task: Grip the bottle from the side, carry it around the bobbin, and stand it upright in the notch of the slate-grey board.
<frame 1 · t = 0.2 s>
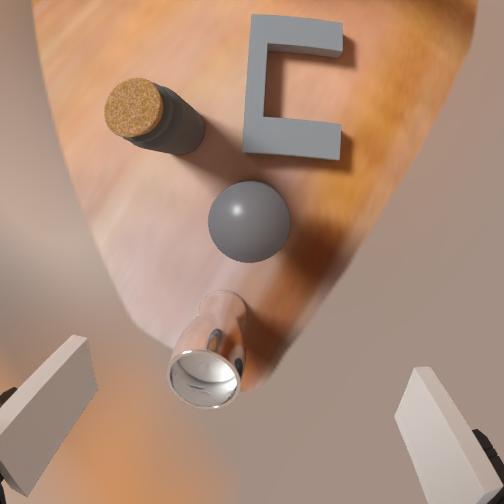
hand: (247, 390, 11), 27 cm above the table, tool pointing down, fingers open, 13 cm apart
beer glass: (223, 311, 41), on the table
bottle: (181, 131, 36), on the table
notch board: (304, 87, 34), on the table
bobbin: (253, 210, 37), on the table
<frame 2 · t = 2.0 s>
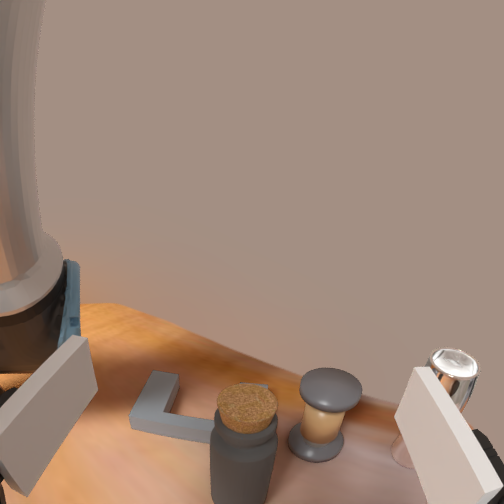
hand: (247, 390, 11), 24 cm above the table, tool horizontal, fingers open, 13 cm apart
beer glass: (410, 453, 32), on the table
bottle: (238, 495, 27), on the table
notch board: (204, 408, 41), on the table
bobbin: (315, 442, 35), on the table
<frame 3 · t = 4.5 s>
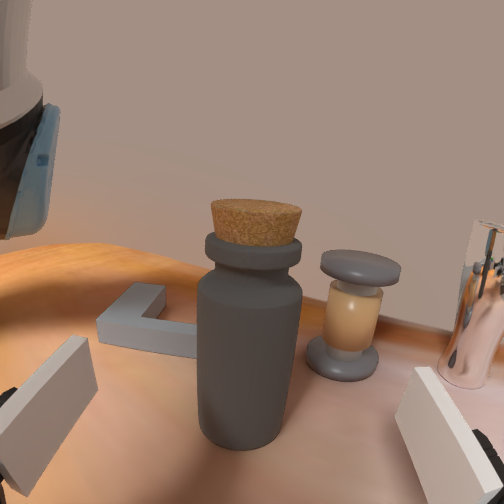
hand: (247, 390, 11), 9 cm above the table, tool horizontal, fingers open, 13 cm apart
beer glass: (462, 374, 26), on the table
bottle: (239, 423, 21), on the table
notch board: (195, 324, 34), on the table
bobbin: (341, 360, 29), on the table
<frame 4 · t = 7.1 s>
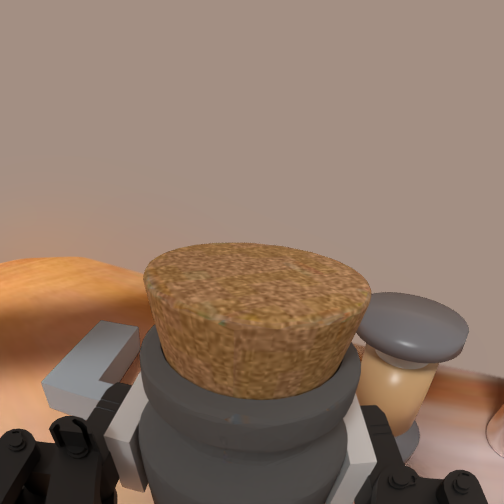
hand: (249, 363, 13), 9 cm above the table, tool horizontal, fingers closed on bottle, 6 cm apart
notch board: (175, 382, 24), on the table
bobbin: (370, 437, 19), on the table
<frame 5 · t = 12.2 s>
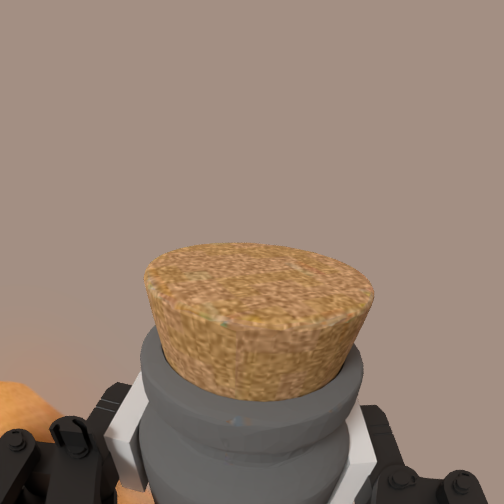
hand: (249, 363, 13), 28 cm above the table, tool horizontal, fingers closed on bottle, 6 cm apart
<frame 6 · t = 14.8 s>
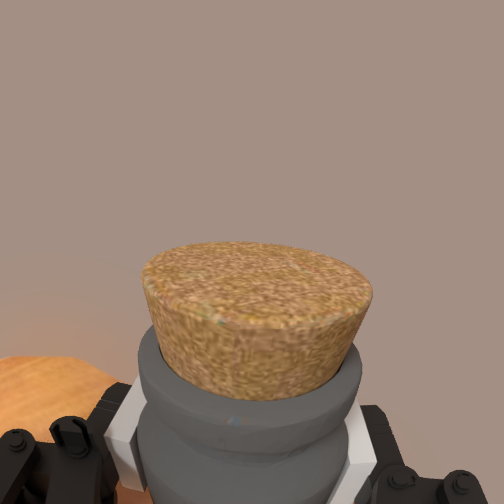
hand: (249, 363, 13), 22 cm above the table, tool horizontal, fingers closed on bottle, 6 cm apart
when the fingers open (10 cm above the table, at t = 17.2 s): bottle drops 1 cm, on the table.
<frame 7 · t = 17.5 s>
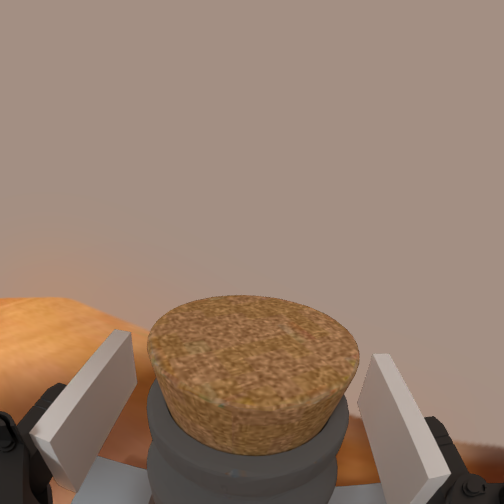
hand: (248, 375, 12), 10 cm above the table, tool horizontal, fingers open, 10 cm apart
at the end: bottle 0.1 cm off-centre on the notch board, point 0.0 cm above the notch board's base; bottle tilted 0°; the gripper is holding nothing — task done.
